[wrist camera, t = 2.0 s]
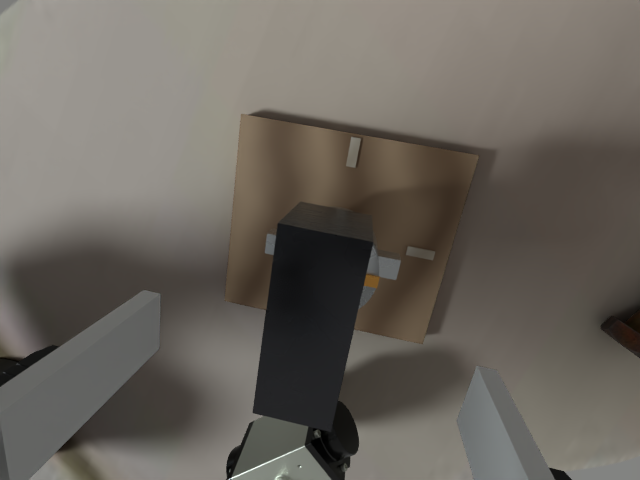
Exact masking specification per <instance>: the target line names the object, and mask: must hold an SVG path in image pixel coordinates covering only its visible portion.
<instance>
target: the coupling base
mask: <svg viewBox="0 0 640 480" xmlns="http://www.w3.org/2000/svg"><path fill="white" fill-rule="evenodd" d="M478 158H479V155H475V154H469V153H463V152H457V151H452V150H446V149H440V148H434V147H429V146H423V145H417V144H411V143H406V142H400V141H394V140H388V139H383V138H377V137H371V136H365V135H360V134H354V133H348V132H342V131H337V130H331V129H325V128H319V127H314V126H308V125H302V124H296V123H291V122H285V121H279V120H273V119H268V118H262V117H256V116H250V115H245V114H241V120H240V131H239V143H238V154H237V165H236V177H235V188H234V199H233V210H232V222H231V233H230V244H229V255H228V267H227V278H226V289H225V301H227V302H232V303H236V304H241V305H245V306H250V307H255V308H259V309H264V310H266V308H267V300H268V293H269V285H270V278H271V270H272V262H273V255H271V254H266V253H265V247H266V238H267V233H268V232H269V231H270V230H271V229H272V228H274V229H277V224H278V222H279V221H280V220H281V219H283V218H284V217H285V216H286V215H287V214H288V213H289V212H290V211H291V210H292V209H293V208H294V207H295V206H296V205H297V204H298V203H299V202H300V201H301V202H306V203H311V204H316V205H322V206H327V207H342V208H346V209H349V210H352V211H354V212H358V213H363V214H369V215H372V222H373V231H374V234H375V236H376V240H377V246H378V249H379V250H384V251H389V252H394V253H399V255H400V258H401V263H400V267H399V271H398V275H397V279H396V280H392V279H387V278H383V277H380V278H379V282H378V287H377V288H376V290H375V292H374V294H373V295H372V297H371V298H370V299H369V301H368V302H367V303H366V304H365V305H364V306H362V307H361V308H360V309H358V313H357V318H356V322H355V326H354V329H355V330H360V331H364V332H369V333H373V334H378V335H382V336H387V337H391V338H396V339H401V340H405V341H410V342H414V343H419V344H423V341H424V338H425V334H426V331H427V328H428V325H429V321H430V318H431V315H432V311H433V308H434V305H435V301H436V298H437V295H438V291H439V288H440V285H441V281H442V278H443V275H444V271H445V268H446V265H447V261H448V258H449V255H450V251H451V248H452V245H453V241H454V238H455V235H456V231H457V228H458V225H459V221H460V218H461V215H462V211H463V208H464V205H465V201H466V198H467V195H468V191H469V188H470V185H471V181H472V178H473V175H474V172H475V168H476V165H477V162H478Z"/></svg>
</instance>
